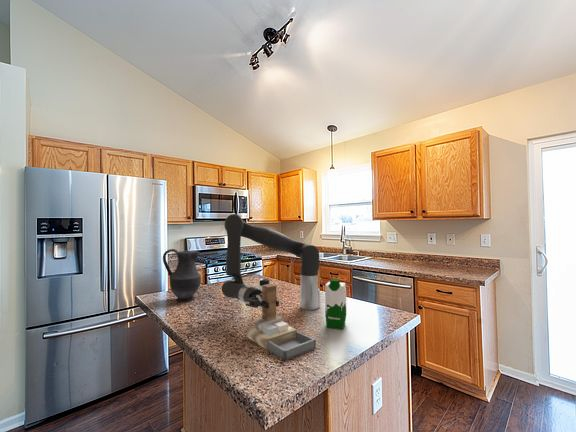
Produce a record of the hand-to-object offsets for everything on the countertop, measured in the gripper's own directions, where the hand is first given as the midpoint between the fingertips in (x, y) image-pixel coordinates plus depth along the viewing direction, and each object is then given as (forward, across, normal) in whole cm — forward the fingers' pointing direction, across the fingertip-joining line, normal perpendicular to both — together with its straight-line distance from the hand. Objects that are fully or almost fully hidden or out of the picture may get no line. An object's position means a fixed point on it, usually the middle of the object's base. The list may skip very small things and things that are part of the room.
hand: (273, 304), depth 103 cm
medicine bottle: (-47, +27, +14) cm, 56 cm away
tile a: (+1, +3, +10) cm, 10 cm away
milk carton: (+6, +29, +13) cm, 32 cm away
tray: (+11, 0, +13) cm, 17 cm away
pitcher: (-77, -11, +14) cm, 79 cm away
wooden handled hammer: (-3, 0, +9) cm, 9 cm away
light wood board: (-1, 0, +13) cm, 13 cm away
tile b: (+1, -2, +9) cm, 10 cm away
